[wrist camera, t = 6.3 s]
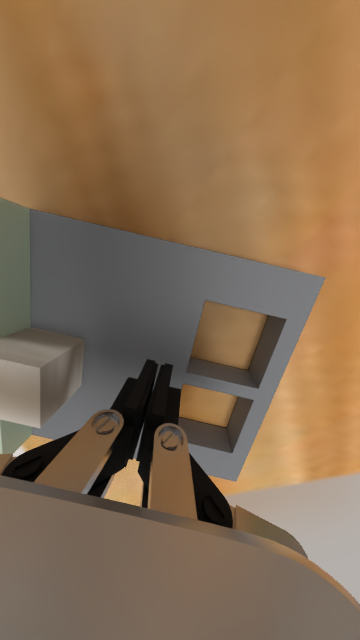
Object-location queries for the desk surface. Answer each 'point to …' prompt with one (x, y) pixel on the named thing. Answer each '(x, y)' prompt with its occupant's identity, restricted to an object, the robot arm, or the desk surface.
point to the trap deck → (145, 321)
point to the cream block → (38, 374)
